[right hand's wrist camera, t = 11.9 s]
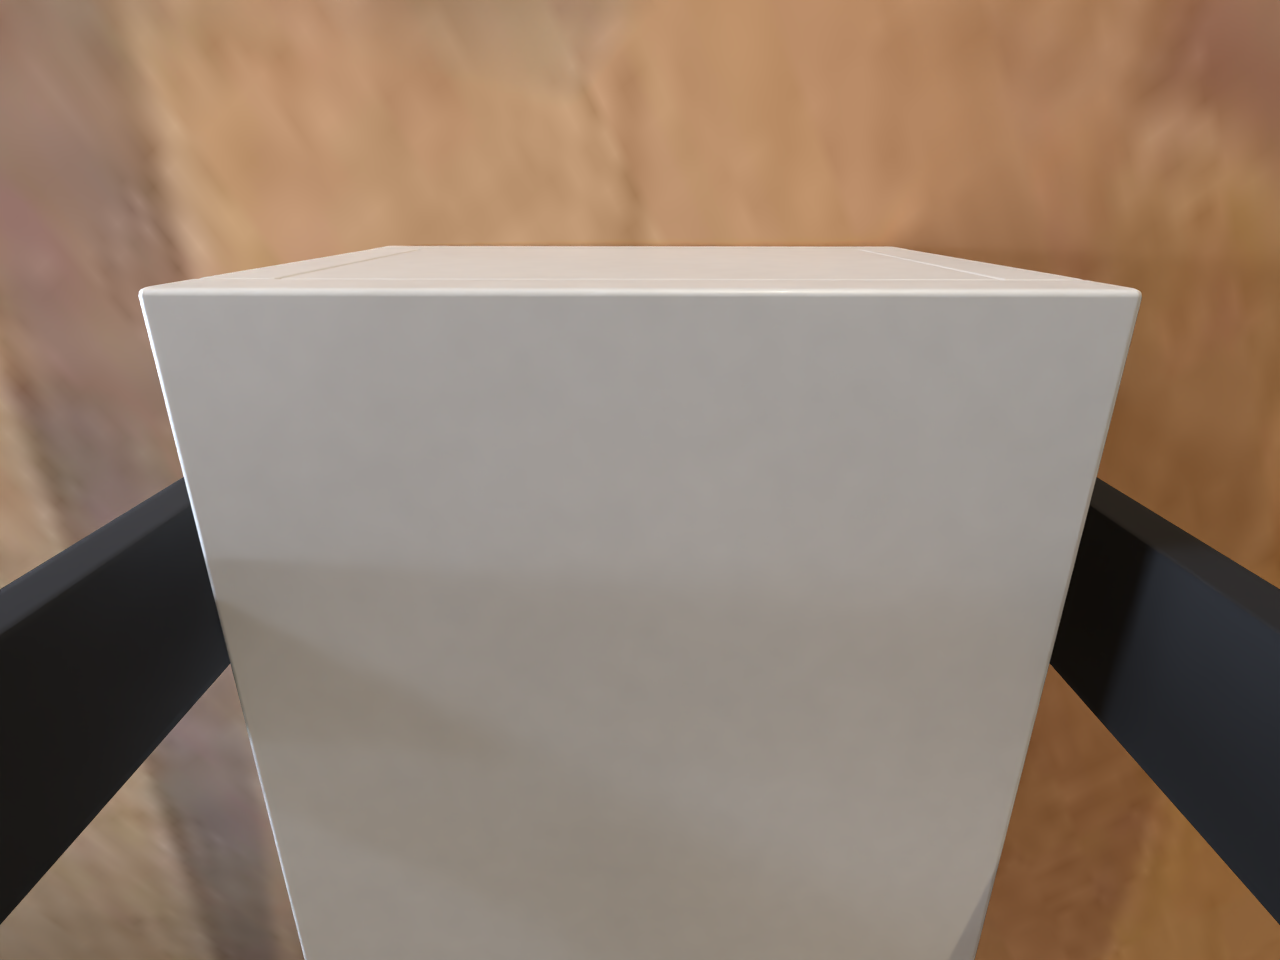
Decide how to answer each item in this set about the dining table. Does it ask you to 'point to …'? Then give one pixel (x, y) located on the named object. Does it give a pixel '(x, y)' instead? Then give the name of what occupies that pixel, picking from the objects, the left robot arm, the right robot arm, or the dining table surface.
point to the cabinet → (639, 584)
